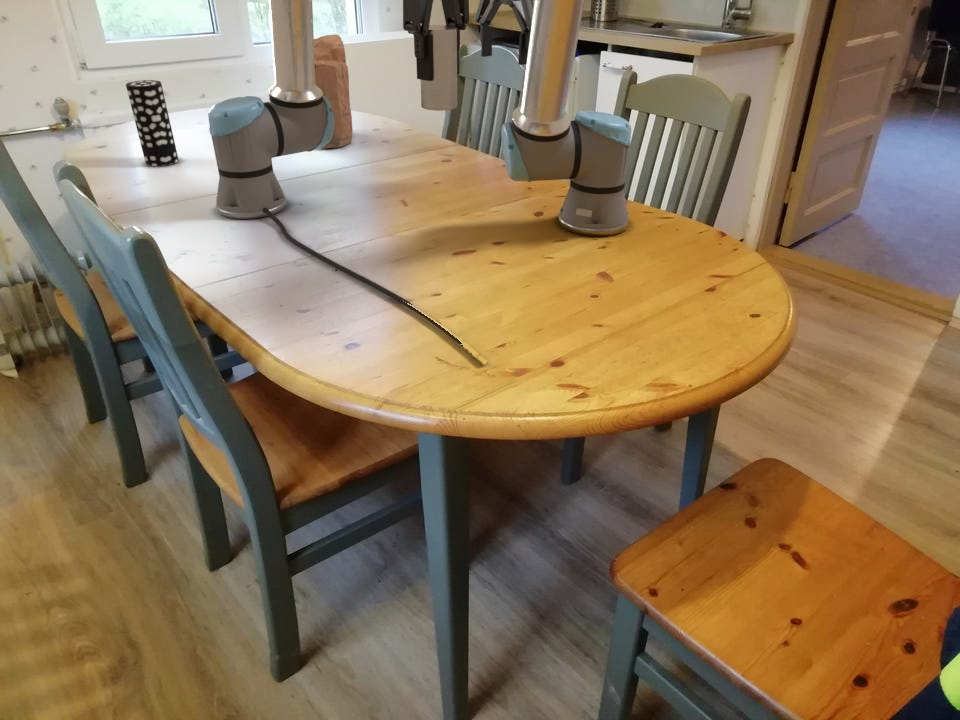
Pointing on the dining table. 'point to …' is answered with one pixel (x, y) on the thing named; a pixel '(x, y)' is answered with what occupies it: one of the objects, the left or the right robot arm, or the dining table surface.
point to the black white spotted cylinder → (152, 122)
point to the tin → (442, 70)
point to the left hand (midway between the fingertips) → (438, 76)
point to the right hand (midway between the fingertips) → (504, 60)
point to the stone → (334, 85)
